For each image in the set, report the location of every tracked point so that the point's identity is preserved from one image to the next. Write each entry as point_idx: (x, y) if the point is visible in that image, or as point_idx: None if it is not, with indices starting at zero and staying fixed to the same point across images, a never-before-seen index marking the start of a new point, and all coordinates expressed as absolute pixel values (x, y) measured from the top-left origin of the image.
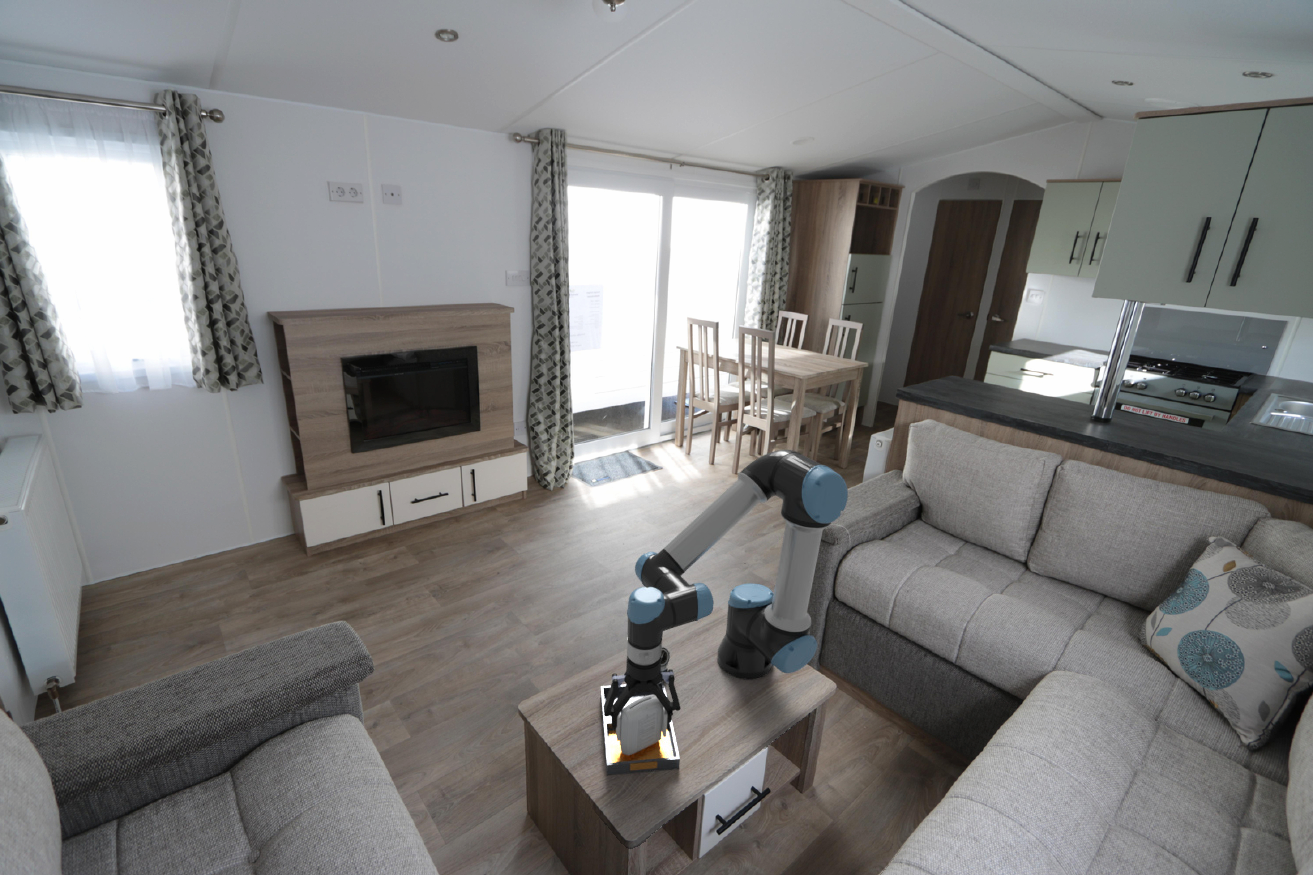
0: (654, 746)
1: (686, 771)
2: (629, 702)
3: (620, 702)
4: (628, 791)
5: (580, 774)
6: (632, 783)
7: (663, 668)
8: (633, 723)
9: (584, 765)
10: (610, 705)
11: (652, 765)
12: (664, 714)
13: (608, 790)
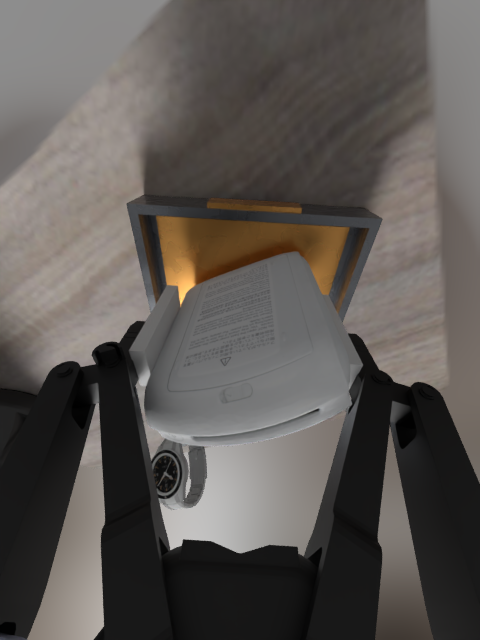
0: (210, 274)
1: (120, 180)
2: None
3: (382, 458)
4: (320, 126)
5: (436, 225)
6: (297, 161)
7: (168, 440)
8: (301, 332)
9: (409, 253)
10: (446, 449)
11: (225, 201)
12: (143, 352)
13: (384, 144)
